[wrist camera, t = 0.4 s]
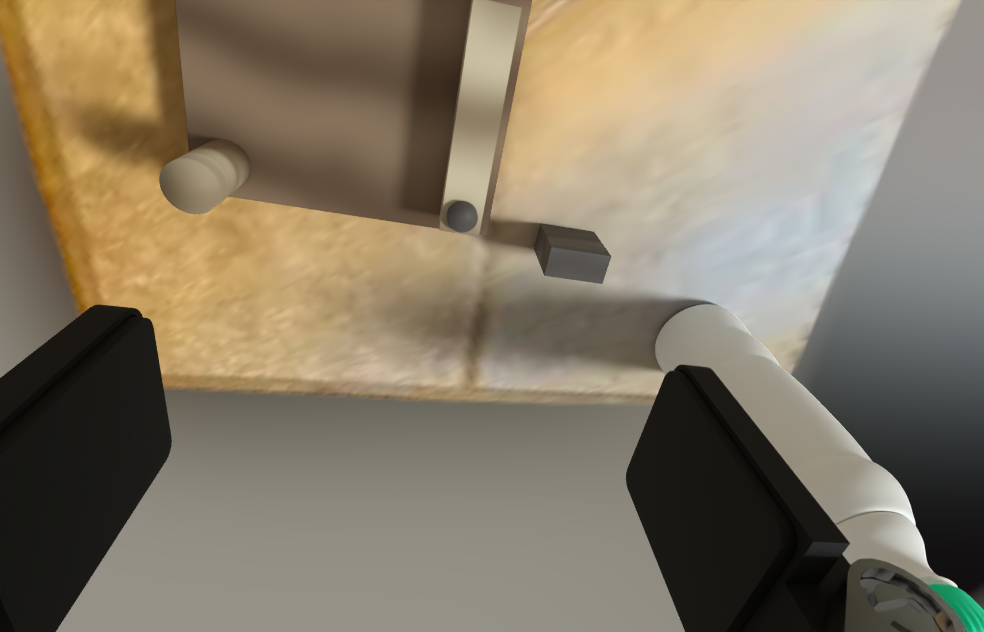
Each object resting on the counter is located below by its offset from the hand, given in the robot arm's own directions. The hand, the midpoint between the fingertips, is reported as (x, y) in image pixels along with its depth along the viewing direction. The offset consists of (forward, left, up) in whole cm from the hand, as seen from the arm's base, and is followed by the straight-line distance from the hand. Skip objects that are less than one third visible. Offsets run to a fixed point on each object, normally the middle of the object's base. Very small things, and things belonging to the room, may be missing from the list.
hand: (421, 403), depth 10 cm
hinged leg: (-2, +2, -24) cm, 24 cm away
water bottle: (+12, +23, -27) cm, 37 cm away
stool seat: (-3, -1, -27) cm, 27 cm away
